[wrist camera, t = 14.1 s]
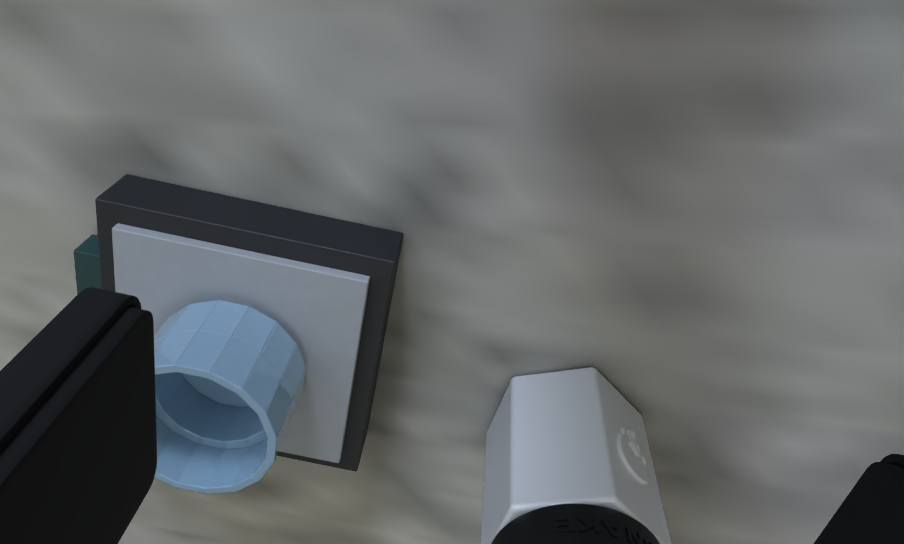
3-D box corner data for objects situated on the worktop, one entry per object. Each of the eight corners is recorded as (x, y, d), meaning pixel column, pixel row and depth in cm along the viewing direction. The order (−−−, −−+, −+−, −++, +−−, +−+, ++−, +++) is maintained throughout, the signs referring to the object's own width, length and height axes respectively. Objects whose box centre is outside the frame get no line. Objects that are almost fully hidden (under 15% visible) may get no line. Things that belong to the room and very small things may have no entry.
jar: (668, 435, 40) (720, 632, 30) (555, 496, 44) (568, 693, 33) (571, 336, 37) (593, 516, 27) (459, 409, 41) (439, 596, 30)
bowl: (161, 280, 33) (102, 349, 29) (314, 312, 34) (281, 386, 29) (163, 397, 37) (112, 475, 32) (301, 425, 37) (270, 507, 33)
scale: (93, 167, 35) (52, 196, 32) (403, 232, 35) (392, 268, 32) (109, 382, 42) (76, 424, 39) (366, 434, 42) (354, 480, 39)
